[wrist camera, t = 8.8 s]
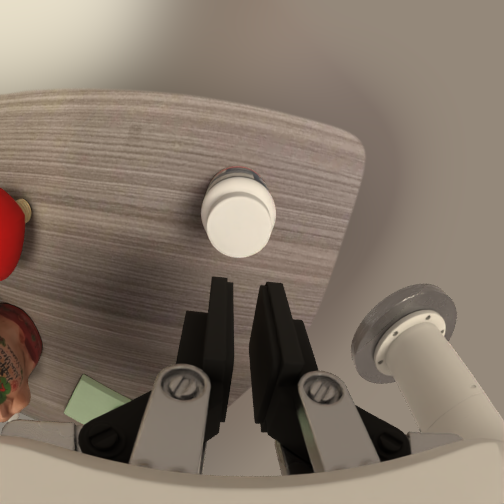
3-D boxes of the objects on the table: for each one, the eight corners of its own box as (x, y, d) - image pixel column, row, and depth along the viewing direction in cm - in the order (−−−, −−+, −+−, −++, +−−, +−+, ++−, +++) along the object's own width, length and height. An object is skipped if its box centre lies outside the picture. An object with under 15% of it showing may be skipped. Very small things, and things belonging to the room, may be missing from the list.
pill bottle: (268, 220, 27) (284, 264, 19) (211, 225, 27) (202, 272, 19) (265, 162, 25) (280, 183, 17) (204, 168, 25) (190, 191, 17)
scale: (158, 410, 39) (155, 426, 36) (126, 439, 43) (123, 452, 40) (83, 371, 35) (77, 387, 32) (65, 408, 39) (60, 420, 36)
